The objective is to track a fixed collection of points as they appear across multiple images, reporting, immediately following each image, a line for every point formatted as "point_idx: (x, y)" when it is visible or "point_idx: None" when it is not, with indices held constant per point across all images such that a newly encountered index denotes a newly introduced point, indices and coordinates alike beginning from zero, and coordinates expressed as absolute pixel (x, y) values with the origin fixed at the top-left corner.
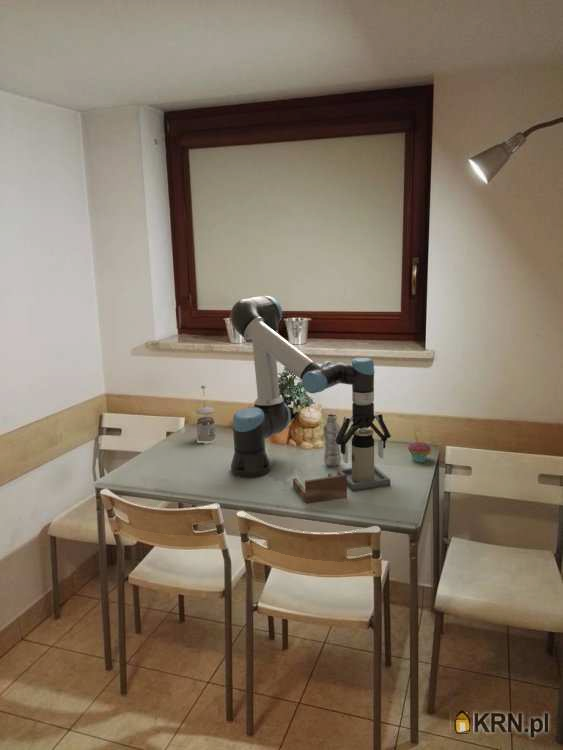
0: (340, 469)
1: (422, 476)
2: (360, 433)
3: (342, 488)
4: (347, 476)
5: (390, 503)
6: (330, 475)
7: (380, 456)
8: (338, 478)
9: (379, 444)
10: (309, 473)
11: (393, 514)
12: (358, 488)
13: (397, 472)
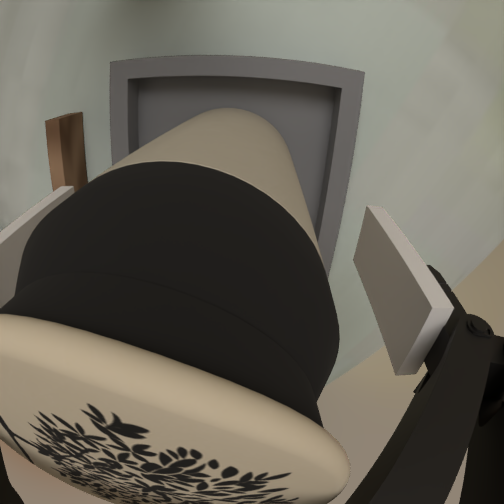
0: (129, 61)
1: (480, 244)
2: (78, 485)
3: None
4: (160, 108)
5: None
6: (50, 149)
7: (359, 252)
8: None
9: (396, 300)
10: (34, 9)
11: None
12: None
13: (443, 157)
